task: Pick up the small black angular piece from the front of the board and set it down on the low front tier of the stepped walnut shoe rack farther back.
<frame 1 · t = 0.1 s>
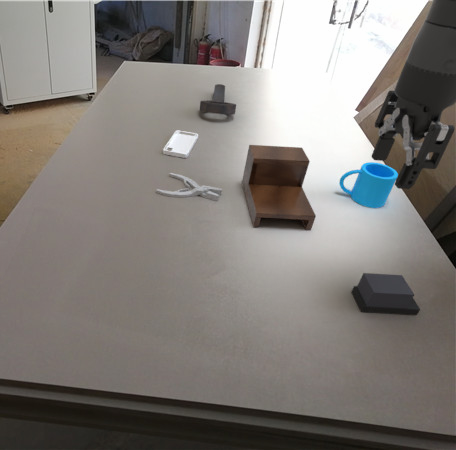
hand: (389, 172, 62), 25 cm above the table, tool pointing down, fingers open, 8 cm apart
shoe rack: (271, 199, 100), on the table
black angular piece: (383, 303, 74), on the table
dark grey piece: (217, 107, 148), on the table
phone case: (181, 146, 122), on the table
mug: (359, 198, 103), on the table
pliers: (190, 191, 102), on the table
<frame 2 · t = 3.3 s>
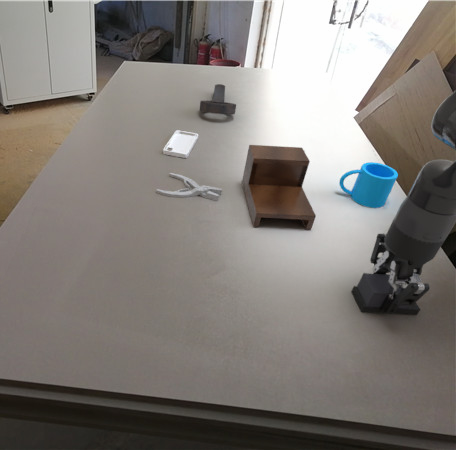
hand: (379, 299, 74), 1 cm above the table, tool pointing down, fingers closed on black angular piece, 5 cm apart
black angular piece: (383, 303, 74), on the table, touching gripper
everything else where it was.
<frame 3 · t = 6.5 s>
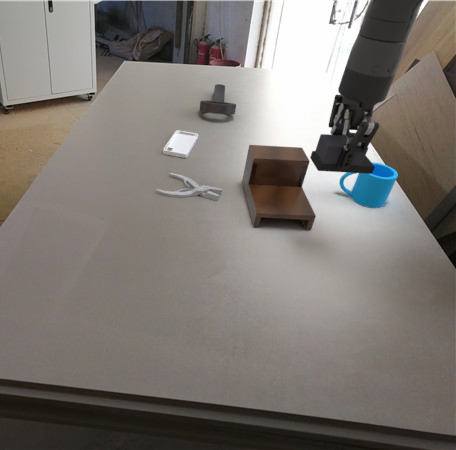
hand: (336, 160, 75), 20 cm above the table, tool pointing down, fingers closed on black angular piece, 5 cm apart
black angular piece: (340, 165, 76), point 19 cm above the table, touching gripper
everything else where it was.
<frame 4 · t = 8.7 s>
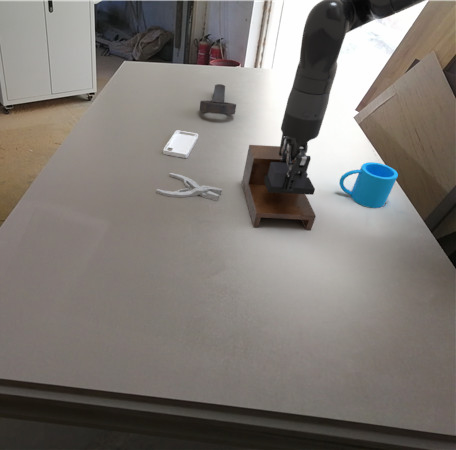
hand: (284, 183, 91), 8 cm above the table, tool pointing down, fingers closed on black angular piece, 5 cm apart
black angular piece: (287, 187, 91), point 7 cm above the table, touching gripper
everything else where it was.
when the fingers open (5 cm above the table, at t = 10.2 s): black angular piece stays where it is, resting on shoe rack.
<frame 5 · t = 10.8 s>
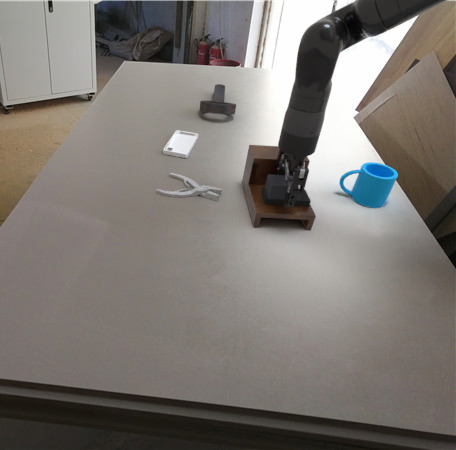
hand: (283, 196, 91), 6 cm above the table, tool pointing down, fingers open, 8 cm apart
black angular piece: (284, 199, 93), point 4 cm above the table, touching shoe rack
everything else where it was.
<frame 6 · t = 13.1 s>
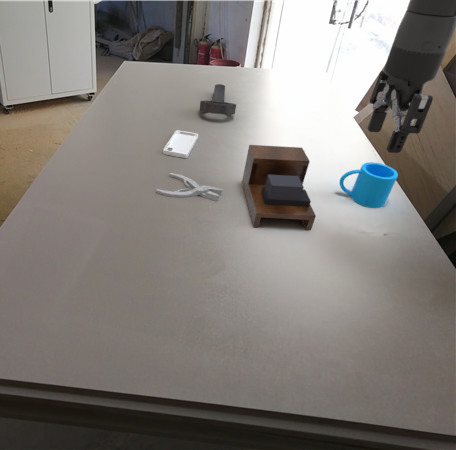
hand: (382, 141, 73), 24 cm above the table, tool pointing down, fingers open, 8 cm apart
nothing on the table moved.
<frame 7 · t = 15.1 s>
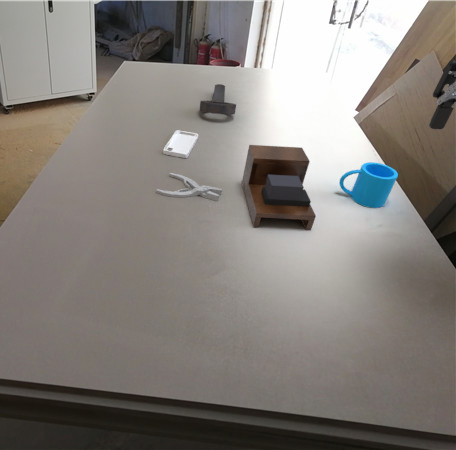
hand: (449, 139, 65), 28 cm above the table, tool pointing down, fingers open, 8 cm apart
nothing on the table moved.
at the end: black angular piece inside the target area on the shoe rack (1.3 cm from its centre), point 4.0 cm above the shoe rack's base; black angular piece tilted 0°; the gripper is holding nothing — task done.
